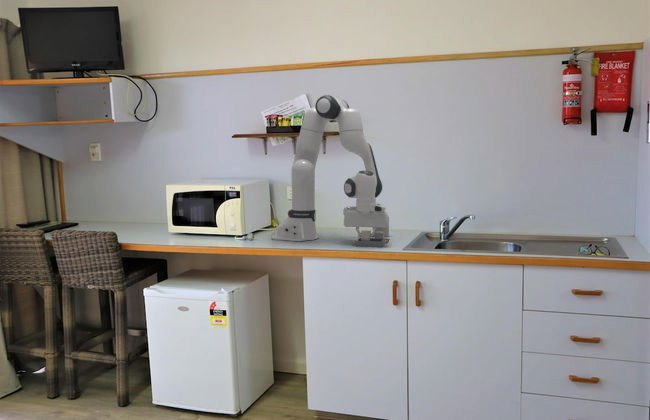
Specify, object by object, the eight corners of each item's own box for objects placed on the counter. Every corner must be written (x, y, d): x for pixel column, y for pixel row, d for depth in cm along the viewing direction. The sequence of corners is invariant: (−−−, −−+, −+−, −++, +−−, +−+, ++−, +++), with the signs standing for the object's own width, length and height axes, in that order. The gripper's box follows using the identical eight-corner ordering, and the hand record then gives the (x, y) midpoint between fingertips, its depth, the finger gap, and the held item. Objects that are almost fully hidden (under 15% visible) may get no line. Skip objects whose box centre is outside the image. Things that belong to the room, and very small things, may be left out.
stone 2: (374, 241, 295) (374, 232, 294) (375, 239, 298) (375, 231, 298) (383, 241, 294) (383, 232, 293) (384, 239, 298) (384, 231, 297)
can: (387, 238, 304) (388, 214, 303) (372, 238, 305) (372, 214, 304) (389, 236, 311) (389, 212, 310) (374, 235, 313) (374, 212, 311)
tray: (357, 243, 291) (357, 241, 291) (360, 239, 301) (360, 237, 301) (387, 244, 288) (387, 242, 288) (389, 240, 299) (389, 238, 298)
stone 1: (360, 240, 282) (360, 231, 282) (362, 239, 286) (362, 230, 286) (369, 240, 282) (369, 232, 281) (370, 239, 285) (370, 230, 285)
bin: (356, 247, 280) (356, 240, 280) (359, 244, 289) (359, 237, 289) (382, 248, 278) (382, 241, 278) (384, 245, 287) (384, 238, 286)
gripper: (342, 207, 281) (342, 237, 283) (387, 208, 277) (387, 238, 279) (344, 205, 287) (344, 235, 289) (388, 206, 283) (388, 236, 285)
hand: (365, 236), depth 284 cm, fingers closed on stone 1, 4 cm apart
